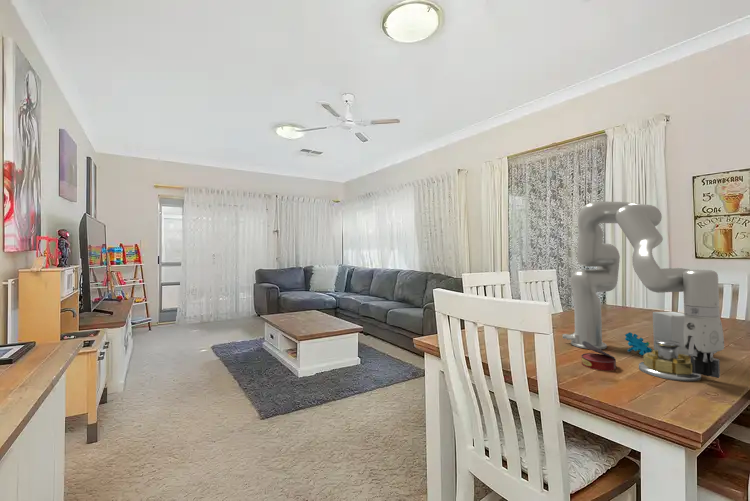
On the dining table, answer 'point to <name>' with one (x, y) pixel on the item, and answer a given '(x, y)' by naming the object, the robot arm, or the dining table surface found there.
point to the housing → (668, 352)
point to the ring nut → (677, 364)
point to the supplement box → (669, 329)
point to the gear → (637, 344)
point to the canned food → (598, 359)
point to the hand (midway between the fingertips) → (703, 374)
